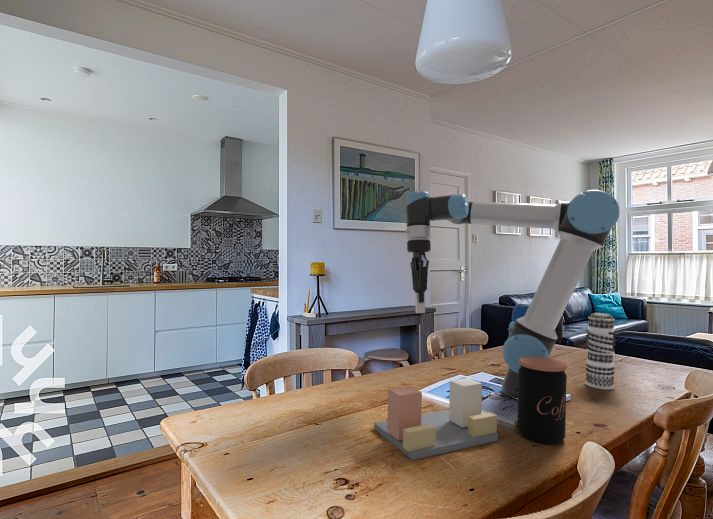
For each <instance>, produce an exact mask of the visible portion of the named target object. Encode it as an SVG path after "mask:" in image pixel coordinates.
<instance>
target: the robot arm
mask: <svg viewBox="0 0 713 519" xmlns="http://www.w3.org/2000/svg"><path fill="white" fill-rule="evenodd" d="M405 203H406V205H405V210H406V211H405V212H406V229H405V233H406V239H407V241H406V248H407V249H406V251H407V252H408V253H412V258H411V262H410V264H409V265H410V268H411V269H410V270H411V280H412V290H413V291H414V295H415V296H414V297H415V306H414V307H415V313H416V314H425V313H426V298H425V297H426V296H425V293H426V291H427V290H428V275H429V273H428V272H429V263H430V261H429V259H428V258H427V256H426V253H430V252H431V250H432V249H431V241H430V239H431V221H433V222H435V221H449V222H450V223H452V224H454V225H462V224H465V225H471V224H472V225H484V226H485V225H486V226H498V227H499V226H501V227H502V226H503V227H514V228H516V227H517V228H534V229H551V230H554V231H555V233H557V234H558V236H559V242H558V244H557V246H556V248H555V250H554V253H553V255H552V257H551V258H550V261H549V263H548V266H547V267H546V269H545V271H544V274H543V276H542V278H541V280H540V282H539V284H538V286H537V289H536V290H535V293H534V295H533V297H532V299H531V302H530V304H529V306H528V308H527V309H526V312H525V314H524V316H521V317H519V318H516V320H515V321H511V322H509V325H508V328H507V330H508V337H507V339H506V340H505V342H504V343H503V345H502V356H503V360H504V363H505V364H506V366H507V371H506V372H505V376H504V379H503V381H502V385H501V392H502V394H503V393H504V394H503V395H505V394H506V395H508V396H511V397H514V398H518V372H519V368H520V367H521V365H520V364H519V359H520V358H523V357H542V358H549V357H550V355H551V353H552V350H553V348H554V346H555V345H556V342H557V340H558V338H559V336H558V335H557V332H556V328H557V326H558V324H559V323H560V321H561V318H562V316H563V315H564V312H565V310H566V308H567V306H568V303H569V301H570V300H571V297H572V296H573V293H574V292H575V289H576V287H577V285H578V283H579V281H580V279H581V277H582V275H583V273H584V271H585V269H586V266H587V264H588V263H589V260H590V258H591V256H592V254H593V252H595V251H596V250H598V249H599V250H600V249H602V248H603V247H604V244H605V242H606V240H607V238H608V237H609V234H610V232H611V230H612V228H613V227H614V226H615V225H616V223H617V222H618V221H619V217H620V206H619V203H618V201H617V199H616V198H615V197H614V196H613V195H612V194H610V193H608V192H607V191H604V190H600V189H588V190H585V191H583V192H580V193H579V194H577V195H576V196H574V197H573V198H572V199H571V200H569V201H567V200H566V201H559V202H557V203H556V204H550V203H549V204H547V203H525V202H524V203H523V202H522V203H520V202H519V203H517V202H492V201H491V202H489V201H488V202H486V201H469V199H468V197H467V195H466V194H464V193H462V194H461V193H460V194H456V193H454V194H450V195H449V194H448V195H439V196H430V192H428V191H423V190H420V191H412V192H409V193H408V194H407V195H406V202H405ZM549 359H550V358H549ZM506 395H505V396H506ZM508 396H507V397H508ZM511 397H510V398H511ZM514 398H513V399H514Z"/></svg>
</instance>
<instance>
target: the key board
mask: <svg viewBox="0 0 713 519" xmlns="http://www.w3.org/2000/svg"><path fill="white" fill-rule="evenodd" d="M497 424H498V415H497V414H495V413H493V412H492V411H491V412H486V413H481V414H480V415H474V416H469V417H468V427H463V428H462V427H460V426H458V425H457V424H455V423H453V422H452V421H450V420H449V409H444V410H438V411H432V412H428V413H421V426H416V427H411V428H405V429H403V440H399V441H398V440H397V439H396V438H395V437H393V436H392V435H391V434H390V433H388V432H387V420H382V421H376V422H374V425H373V429H374V430H375V431H377V433H378V434H380V435H381V436H382V437H384V439H386V440H387V441H388V442H389V443H391V444H392V445H393V446H394V447H396V448H397V449H398V450H399V451H400V452H401V453H403V454H404V455H405V456H407V457H408V458H409V459H410V461H416V460H421V459H424V458H429V457H432V456H437V455H441V454H442V455H443V454H445V453H450V452H454V451H455V452H456V451H458V450H464V449H467V448H472V447H476V446H481V445H485V444H488V443H493V442H498V441H499V433H497V431H498V430H497V429H498V427H497V426H498V425H497Z"/></svg>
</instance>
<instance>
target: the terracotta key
mask: <svg viewBox="0 0 713 519" xmlns="http://www.w3.org/2000/svg"><path fill="white" fill-rule="evenodd" d="M422 397H423V392H422V391H421V390H419V389H417V388H415V387H413V386H410V385H407V386H400V387H392V388H391V387H390V388H387V432H388V433H390V434H391V435H392V436H393V437H395V438H396V439H397V440H398V441H399V440H403V429H405V428H411V427H416V426H421V414H422V409H423V408H422V405H423V404H422V403H423V402H422V401H423V398H422Z"/></svg>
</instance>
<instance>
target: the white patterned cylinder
mask: <svg viewBox="0 0 713 519" xmlns="http://www.w3.org/2000/svg"><path fill="white" fill-rule="evenodd" d="M587 318H588V324H587V329H586V330H585V333H586V334H585V337H586V338H587V339H586V341H585V342H586V345H585V348H586V350H585V351H586V352H587V359H586V364H585V366H586V368H585V370H586V371H587V372H585V376H586V377H585V380H586V381H585V385H586V386H588V387H590V388H595V389H599V390H614V388H615V387H614V384H615V382H614V380H615V376H614V375H615V372H614V371H615V367H614V365H615V364H614V363H615V362H614V355H615V351H616V349H615V348H614V346H616V343H615V341H617V338H615V337H614V336H616V335H617V333H616V331H615V322H614V321H615V320H616V319H615V318H613V316H612V315H611V314H609V313H601V312H594V313H591V314H590V316H587Z"/></svg>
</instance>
